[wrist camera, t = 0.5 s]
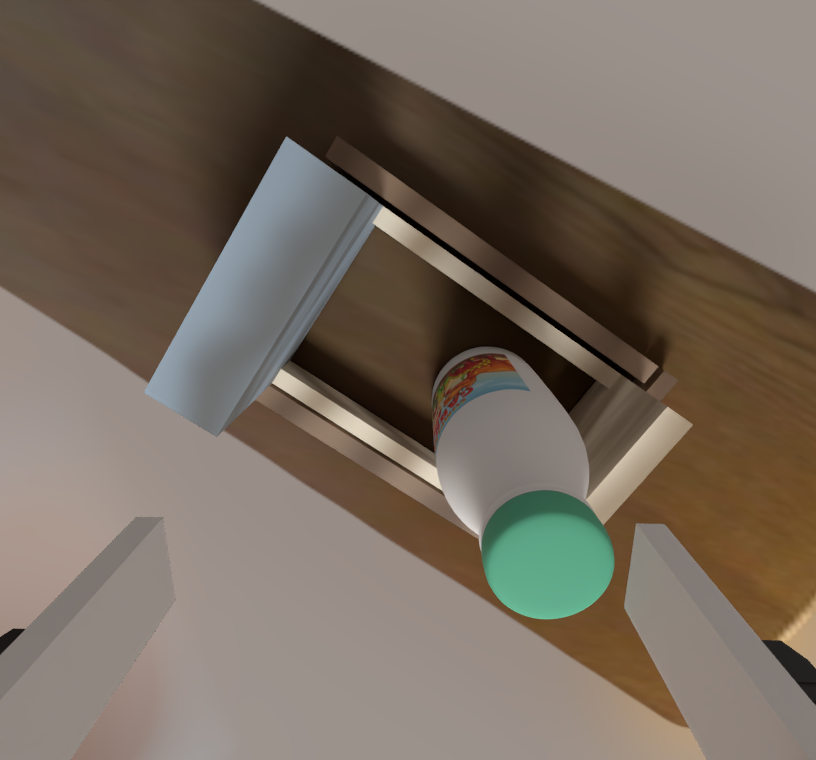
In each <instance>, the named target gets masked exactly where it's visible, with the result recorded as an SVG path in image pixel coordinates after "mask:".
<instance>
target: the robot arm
mask: <svg viewBox="0 0 816 760" xmlns="http://www.w3.org/2000/svg"><path fill="white" fill-rule="evenodd" d="M174 601H175V593H174V587H173V580H172V573H171V567H170V560H169V553H168V546H167V540H166V533H165V528H164V520H163V517H136V518H135V519H134V520H133V521H132V522H131V523H130V524H129V525H128V526H127V527H126V528H125V529H124V530H123V531H122V532H121V533H120V534H119V535H118V536H117V537H116V538H115V539H114V540H113V541H112V542H111V543H110V544H109V545H108V546H107V547H106V548H105V549H104V550H103V551H102V552H101V553H100V554H99V555H98V556H97V557H96V558H95V559H94V560H93V561H92V562H91V563H90V564H89V565H88V566H87V567H86V568H85V569H84V570H83V572H81V574H80V575H79V576H78V577H77V578H76V579H75V580H74V581H73V582H72V583H71V584H70V585H69V586H68V587H67V588H66V589H65V590H64V591H63V592H62V593H61V594H60V595H59V596H58V597H57V598H56V599H55V600H54V601H53V602H52V603H51V604H50V605H49V606H48V607H47V608H46V609H45V610H44V611H43V612H42V613H41V614H40V615H39V616H38V617H37V618H36V619H35V620H34V621H33V622H32V623H31V624H30V625H29V626H28V627H27V628H26V629H12V630H11V631H9V632H8V633H6V634H4V635H3V636H1V637H0V760H71V758H72V757H73V755H74V754H75V752H76V751H77V749H78V748H79V746H80V745H81V743H82V742H83V740H84V738H85V737H86V736H87V734H88V732H89V731H90V729H91V728H92V726H93V725H94V723H95V722H96V720H97V719H98V717H99V716H100V714H101V713H102V711H103V710H104V708H105V707H106V705H107V704H108V702H109V701H110V699H111V697H112V696H113V694H114V693H115V691H116V690H117V688H118V687H119V685H120V684H121V682H122V681H123V679H124V677H125V676H126V675H127V673H128V672H129V670H130V669H131V667H132V665H133V664H134V662H135V661H136V659H137V658H138V656H139V655H140V653H141V652H142V650H143V649H144V647H145V646H146V644H147V643H148V641H149V640H150V638H151V637H152V635H153V633H154V632H155V631H156V629H157V627H158V626H159V624H160V623H161V621H162V620H163V618H164V617H165V615H166V614H167V612H168V611H169V609H170V608H171V606H172V605H173V603H174ZM624 608H625V610H626V612H627V614H628V616H629V617H630V619H631V621H632V623H633V625H634V627H635V628H636V630H637V632H638V634H639V636H640V638H641V639H642V641H643V643H644V645H645V647H646V649H647V651H648V652H649V654H650V656H651V658H652V660H653V662H654V663H655V665H656V667H657V669H658V671H659V673H660V674H661V676H662V678H663V680H664V682H665V684H666V686H667V687H668V689H669V691H670V693H671V695H672V697H673V698H674V700H675V702H676V704H677V706H678V708H679V709H680V711H681V713H682V715H683V717H684V719H685V721H686V722H687V724H688V726H689V728H690V730H691V732H692V733H693V735H694V737H695V739H696V741H697V743H698V744H699V746H700V748H701V750H702V752H703V754H704V755H705V757H706V759H707V760H816V669H815V667H814V666H813V665H812V664H811V663H810V662H809V661H808V660H807V659H806V658H804V657H803V656H801V655H800V654H799V653H797V652H796V651H795V650H793V649H792V648H790V647H789V646H788V645H786V644H785V643H783V642H782V641H772V640H761V639H760V638H759V637H758V636H757V635H756V633H755V632H754V631H753V630H752V629H751V627H750V626H749V625H748V624H747V623H746V621H745V620H744V619H743V618H742V617H741V615H740V614H739V613H738V612H737V611H736V609H735V608H734V607H733V606H732V605H731V603H730V602H729V601H728V600H727V599H726V597H725V596H724V595H723V594H722V593H721V591H720V590H719V589H718V588H717V587H716V585H715V584H714V583H713V582H712V581H711V579H710V578H709V577H708V576H707V575H706V573H705V572H704V571H703V570H702V569H701V567H700V566H699V565H698V564H697V563H696V561H695V560H694V559H693V558H692V557H691V555H690V554H689V553H688V552H687V551H686V549H685V548H684V547H683V546H682V545H681V543H680V542H679V541H678V540H677V539H676V537H675V536H674V535H673V534H672V533H671V531H670V530H669V529H668V528H667V527H666V525H665V524H636V529H635V536H634V543H633V550H632V556H631V563H630V570H629V577H628V584H627V591H626V598H625V604H624Z"/></svg>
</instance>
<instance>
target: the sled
mask: <svg viewBox="0 0 816 760" xmlns="http://www.w3.org/2000/svg"><path fill="white" fill-rule="evenodd" d="M375 225H376V226H377V227H379V228H380V229H381V230H383V231H384V232H386V233H387V234H389V235H390V236H391V237H393V238H394V239H396V240H397V241H399V242H400V243H401V244H403V245H404V246H406V247H407V248H409V249H410V250H411V251H413V252H414V253H416V254H417V255H419V256H420V257H421V258H423V259H424V260H426V261H427V262H429V263H430V264H431V265H433V266H434V267H436V268H437V269H439V270H440V271H441V272H443V273H444V274H446V275H447V276H449V277H450V278H451V279H453V280H454V281H456V282H457V283H459V284H460V285H461V286H463V287H464V288H466V289H467V290H469V291H470V292H471V293H473V294H474V295H476V296H477V297H479V298H480V299H481V300H483V301H484V302H486V303H487V304H489V305H490V306H491V307H493V308H494V309H496V310H497V311H498V312H500V313H501V314H503V315H504V316H506V317H507V318H508V319H510V320H511V321H513V322H514V323H516V324H517V325H518V326H520V327H521V328H523V329H524V330H526V331H527V332H528V333H530V334H531V335H533V336H534V337H536V338H537V339H538V340H540V341H541V342H543V343H544V344H546V345H547V346H548V347H550V348H551V349H553V350H554V351H556V352H557V353H558V354H560V355H561V356H563V357H564V358H566V359H567V360H568V361H570V362H571V363H573V364H574V365H576V366H577V367H578V368H580V369H581V370H583V371H584V372H586V373H587V374H588V375H590V376H591V377H593V378H594V379H596V381H595V382H594V384H593V385H592V386H591V387H590V389H589V390H588V391H587V392H586V393H585V395H584V396H583V397H582V398H581V400H580V401H579V402H578V403H577V404H576V406H575V407H574V408H573V409H572V411H571V412H570V413H569V414H568V415H569V416H570V418H571V419H572V421H573V422H574V424H575V425H576V427H577V429H578V431H579V433H580V435H581V438H582V440H583V442H584V445H585V448H586V452H587V457H588V462H589V485H588V490H587V495H586V499H585V500H586V501H587V502H588V503H589V504H590V506H591V507H592V509H593V510H594V513H595V514H596V516H597V517H598V519H599V520H600V521H601V523H602V524H604V523H605V522H606V521H607V520H608V519H609V518H610V517H611V516H612V514H613V513H614V512H615V511H616V510H617V509H618V508H619V507H620V506H621V504H622V503H623V502H624V501H625V500H626V499H627V498H628V497H629V496H630V494H631V493H632V492H633V491H634V490H635V489H636V488H637V487H638V486H639V484H640V483H641V482H642V481H643V480H644V479H645V478H646V477H647V476H648V474H649V473H650V472H651V471H652V470H653V469H654V468H655V467H656V465H657V464H658V463H659V462H660V461H661V460H662V459H663V458H664V457H665V455H666V454H667V453H668V452H669V451H670V450H671V449H672V448H673V447H674V445H675V444H676V443H677V442H678V441H679V440H680V439H681V438H682V437H683V435H684V434H685V433H686V432H687V431H688V430H689V429H690V428H691V427H692V425H693V424H691V423H690V422H688V421H687V420H685V419H684V418H683V417H681V416H680V415H678V414H677V413H676V412H674V411H673V410H671V409H670V408H669V407H667V406H666V405H664V404H663V403H661V402H660V401H658V400H657V399H656V398H654V397H653V396H651V395H650V394H648V393H647V392H646V391H644V390H643V389H641V388H640V387H638V386H637V385H635V384H634V383H633V382H631V381H630V380H628V379H627V378H625V377H624V376H622V375H621V374H620V373H618V372H617V371H615V370H614V369H613V368H611V367H610V366H608V365H607V364H605V363H604V362H603V361H601V360H600V359H598V358H597V357H596V356H594V355H593V354H591V353H590V352H589V351H587V350H586V349H584V348H583V347H581V346H580V345H579V344H577V343H576V342H574V341H573V340H572V339H570V338H569V337H567V336H566V335H565V334H563V333H562V332H560V331H559V330H557V329H556V328H555V327H553V326H552V325H550V324H549V323H548V322H546V321H545V320H543V319H542V318H541V317H539V316H538V315H536V314H535V313H533V312H532V311H531V310H529V309H528V308H526V307H525V306H524V305H522V304H521V303H519V302H518V301H516V300H515V299H514V298H512V297H511V296H509V295H508V294H507V293H505V292H504V291H502V290H501V289H500V288H498V287H497V286H495V285H494V284H492V283H491V282H490V281H488V280H487V279H485V278H484V277H483V276H481V275H480V274H478V273H477V272H476V271H474V270H473V269H471V268H470V267H468V266H467V265H466V264H464V263H463V262H461V261H460V260H459V259H457V258H456V257H454V256H453V255H452V254H450V253H449V252H447V251H446V250H444V249H443V248H442V247H440V246H439V245H437V244H436V243H435V242H433V241H432V240H430V239H429V238H428V237H426V236H425V235H423V234H422V233H420V232H419V231H418V230H416V229H415V228H413V227H412V226H411V225H409V224H408V223H406V222H405V221H403V220H402V219H401V218H399V217H398V216H396V215H395V214H394V213H392V212H391V211H389V210H388V209H387V208H385V207H384V206H382V205H381V204H380V203H379V202H377V201H376V200H375V199H373V198H372V197H371V196H370V195H368V194H367V193H366V192H364V191H363V190H361V189H360V188H359V187H357V186H356V185H354V184H353V183H351V182H350V181H349V180H347V179H346V178H344V177H343V176H342V175H340V174H339V173H337V172H336V171H335V170H333V169H332V168H330V167H329V166H327V165H326V164H325V163H323V162H322V161H320V160H319V159H318V158H316V157H315V156H313V155H312V154H311V153H309V152H308V151H306V150H305V149H303V148H302V147H301V146H299V145H298V144H296V143H295V142H294V141H292V140H291V139H289V138H288V137H287V136H286V138H285V140H284V141H283V143H282V145H281V147H280V149H279V150H278V152H277V154H276V156H275V158H274V159H273V161H272V163H271V165H270V167H269V168H268V170H267V172H266V174H265V176H264V177H263V179H262V181H261V183H260V185H259V186H258V188H257V190H256V192H255V194H254V195H253V197H252V199H251V201H250V203H249V204H248V206H247V208H246V210H245V212H244V213H243V215H242V217H241V219H240V221H239V222H238V224H237V226H236V228H235V230H234V231H233V233H232V235H231V237H230V239H229V240H228V242H227V244H226V246H225V248H224V249H223V251H222V253H221V255H220V256H219V258H218V260H217V262H216V264H215V265H214V267H213V269H212V271H211V273H210V274H209V276H208V278H207V280H206V282H205V283H204V285H203V287H202V289H201V291H200V292H199V294H198V296H197V298H196V300H195V301H194V303H193V305H192V307H191V309H190V310H189V312H188V314H187V316H186V318H185V319H184V321H183V323H182V325H181V327H180V328H179V330H178V332H177V334H176V336H175V337H174V339H173V341H172V343H171V345H170V346H169V348H168V350H167V352H166V354H165V355H164V357H163V359H162V361H161V363H160V364H159V366H158V368H157V370H156V372H155V373H154V375H153V377H152V379H151V381H150V382H149V384H148V386H147V388H146V390H145V391H144V393H145V394H147V395H148V396H150V397H152V398H153V399H155V400H157V401H158V402H160V403H162V404H164V405H165V406H167V407H168V408H170V409H171V410H173V411H175V412H176V413H178V414H180V415H181V416H183V417H185V418H186V419H188V420H190V421H191V422H193V423H194V424H196V425H198V426H199V427H201V428H203V429H204V430H206V431H208V432H210V433H211V434H213V435H214V436H216V437H217V436H218V435H219V434H220V433H221V432H222V431H223V430H224V429H225V428H226V427H227V426H228V425H229V424H230V423H232V422H233V421H234V420H235V419H236V418H237V417H238V416H239V415H240V414H241V413H242V412H243V411H244V410H245V409H246V408H247V407H248V406H249V405H250V404H251V403H252V402H253V401H254V400H255V399H256V398H257V397H258V396H259V395H260V394H261V393H262V392H263V391H264V390H265V389H267V388H268V387H269V386H270V385H271V384H272V383H273V384H274V385H276V386H277V387H279V388H281V389H282V390H284V391H285V392H287V393H289V394H290V395H292V396H293V397H295V398H296V399H298V400H300V401H301V402H303V403H304V404H306V405H307V406H309V407H311V408H312V409H314V410H315V411H317V412H319V413H320V414H322V415H323V416H325V417H326V418H328V419H330V420H331V421H333V422H334V423H336V424H337V425H339V426H341V427H342V428H344V429H345V430H347V431H349V432H350V433H352V434H353V435H355V436H356V437H358V438H360V439H361V440H363V441H364V442H366V443H368V444H369V445H371V446H372V447H374V448H375V449H377V450H379V451H380V452H382V453H383V454H385V455H386V456H388V457H390V458H391V459H393V460H394V461H396V462H398V463H399V464H401V465H402V466H404V467H405V468H407V469H409V470H410V471H412V472H413V473H415V474H416V475H418V476H420V477H421V478H423V479H424V480H426V481H428V482H429V483H431V484H432V485H434V486H435V487H437V488H439V489H440V490H442V487H441V484H440V481H439V478H438V472H437V466H436V459H435V453H433V452H432V451H430V450H429V449H427V448H425V447H424V446H422V445H421V444H419V443H418V442H416V441H415V440H413V439H411V438H410V437H408V436H407V435H405V434H404V433H402V432H401V431H399V430H397V429H396V428H394V427H393V426H391V425H390V424H388V423H387V422H385V421H383V420H382V419H380V418H379V417H377V416H376V415H374V414H373V413H371V412H369V411H368V410H366V409H365V408H363V407H362V406H360V405H359V404H357V403H355V402H354V401H352V400H351V399H349V398H348V397H346V396H345V395H343V394H341V393H340V392H338V391H337V390H335V389H334V388H332V387H331V386H329V385H327V384H326V383H324V382H323V381H321V380H320V379H318V378H317V377H315V376H313V375H312V374H310V373H309V372H307V371H306V370H304V369H303V368H301V367H299V366H298V365H296V364H295V363H293V362H292V361H290V360H291V358H292V357H293V355H294V353H295V352H296V350H297V349H298V347H299V345H300V344H301V342H302V341H303V339H304V338H305V336H306V334H307V333H308V331H309V330H310V328H311V326H312V325H313V323H314V322H315V320H316V318H317V317H318V315H319V314H320V312H321V311H322V309H323V307H324V306H325V304H326V303H327V301H328V299H329V298H330V296H331V295H332V293H333V292H334V290H335V288H336V287H337V285H338V284H339V282H340V280H341V279H342V277H343V276H344V274H345V272H346V271H347V269H348V268H349V266H350V265H351V263H352V261H353V260H354V258H355V257H356V255H357V253H358V252H359V250H360V249H361V247H362V246H363V244H364V242H365V241H366V239H367V238H368V236H369V234H370V233H371V231H372V230H373V228H374V227H375ZM442 491H443V490H442Z"/></svg>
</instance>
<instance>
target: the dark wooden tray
mask: <svg viewBox="0 0 816 760" xmlns="http://www.w3.org/2000/svg"><path fill="white" fill-rule="evenodd" d="M325 157H326V158H327V159H329V160H330V161H331V162H332V163H334V164H335V165H337V166H338V167H339V168H341V169H342V170H344V171H345V172H346V173H348V174H349V175H351V176H352V177H353V178H355V179H356V180H358V181H359V182H360V183H362V184H363V185H365V186H366V187H368V188H369V189H370V190H372V191H373V192H375V193H376V194H377V195H379V196H380V197H382V198H383V199H384V200H386V201H387V202H389V203H390V204H391V205H393V206H394V207H396V208H397V209H398V210H400V211H401V212H403V213H404V214H406V215H407V216H408V217H410V218H411V219H413V220H414V221H415V222H417V223H418V224H420V225H421V226H422V227H424V228H425V229H427V230H428V231H429V232H431V233H432V234H434V235H435V236H437V237H438V238H439V239H441V240H442V241H444V242H445V243H446V244H448V245H449V246H451V247H452V248H453V249H455V250H456V251H458V252H459V253H460V254H462V255H463V256H465V257H466V258H467V259H469V260H470V261H472V262H473V263H475V264H476V265H477V266H479V267H480V268H482V269H483V270H484V271H486V272H487V273H489V274H490V275H491V276H493V277H494V278H496V279H497V280H498V281H500V282H501V283H503V284H504V285H505V286H507V287H508V288H510V289H511V290H513V291H514V292H515V293H517V294H518V295H520V296H521V297H522V298H524V299H525V300H527V301H528V302H529V303H531V304H532V305H534V306H535V307H536V308H538V309H539V310H541V311H542V312H544V313H545V314H546V315H548V316H549V317H551V318H552V319H553V320H555V321H556V322H558V323H559V324H560V325H562V326H563V327H565V328H566V329H567V330H569V331H570V332H572V333H573V334H574V335H576V336H577V337H579V338H580V339H582V340H583V341H584V342H586V343H587V344H589V345H590V346H591V347H593V348H594V349H596V350H597V351H598V352H600V353H601V354H603V355H604V356H605V357H607V358H608V359H610V360H611V361H612V362H614V363H615V364H617V365H618V366H620V367H621V368H622V369H624V370H625V371H627V372H628V373H629V374H631V375H632V376H634V377H635V379H634V380H633V383H634V384H635V385H637V386H638V387H640V388H641V389H643V390H644V391H646V392H647V393H648V394H650V395H651V396H653V397H654V398H656V399H657V400H658V401H661V400H662V399H663V398H664V396H665V395H666V394H667V393H668V392H669V391H670V390H671V388H672V387H673V386H674V385H675V384H676V383H677V381H678V380H677V379H675V378H674V377H672V376H671V375H670V374H668V373H667V372H665V371H664V370H662V369H660V368H659V366H657V365H656V364H654V363H653V362H652V361H650V360H649V359H647V358H646V357H645V356H643V355H642V354H640V353H639V352H638V351H636V350H635V349H633V348H632V347H631V346H629V345H628V344H627V343H625V342H624V341H622V340H621V339H620V338H618V337H617V336H615V335H614V334H613V333H611V332H610V331H608V330H607V329H606V328H604V327H603V326H602V325H600V324H599V323H597V322H596V321H595V320H593V319H592V318H590V317H589V316H588V315H586V314H585V313H583V312H582V311H581V310H579V309H578V308H577V307H575V306H574V305H572V304H571V303H570V302H568V301H567V300H565V299H564V298H563V297H561V296H560V295H558V294H557V293H556V292H554V291H553V290H551V289H550V288H549V287H547V286H546V285H545V284H543V283H542V282H540V281H539V280H538V279H536V278H535V277H533V276H532V275H531V274H529V273H528V272H526V271H525V270H524V269H522V268H521V267H520V266H518V265H517V264H515V263H514V262H513V261H511V260H510V259H508V258H507V257H506V256H504V255H503V254H501V253H500V252H499V251H497V250H496V249H494V248H493V247H492V246H490V245H489V244H488V243H486V242H485V241H483V240H482V239H481V238H479V237H478V236H476V235H475V234H474V233H472V232H471V231H469V230H468V229H467V228H465V227H464V226H463V225H461V224H460V223H458V222H457V221H456V220H454V219H453V218H451V217H450V216H449V215H447V214H446V213H444V212H443V211H442V210H440V209H439V208H437V207H436V206H435V205H433V204H432V203H431V202H429V201H428V200H426V199H425V198H424V197H422V196H421V195H419V194H418V193H417V192H415V191H414V190H412V189H411V188H410V187H408V186H407V185H406V184H404V183H403V182H401V181H400V180H399V179H397V178H396V177H394V176H393V175H392V174H390V173H389V172H387V171H386V170H385V169H383V168H382V167H381V166H379V165H378V164H376V163H375V162H374V161H372V160H371V159H369V158H368V157H367V156H365V155H364V154H362V153H361V152H360V151H358V150H357V149H355V148H354V147H353V146H351V145H350V144H349V143H347V142H346V141H344V140H343V139H342V138H340V137H339V136H336V138H335V140H334V142H333V143H332V145H331V147H330V148H329V150H328V152H327V154H326V155H325ZM255 400H257V401H258V402H260V403H262V404H263V405H265V406H266V407H268V408H270V409H271V410H273V411H274V412H276V413H278V414H279V415H281V416H282V417H284V418H286V419H287V420H289V421H290V422H292V423H294V424H295V425H297V426H298V427H300V428H302V429H303V430H305V431H306V432H308V433H310V434H311V435H313V436H314V437H316V438H318V439H319V440H321V441H322V442H324V443H326V444H327V445H329V446H330V447H332V448H334V449H335V450H337V451H338V452H340V453H342V454H343V455H345V456H346V457H348V458H350V459H351V460H353V461H354V462H356V463H358V464H359V465H361V466H362V467H364V468H366V469H367V470H369V471H370V472H372V473H374V474H375V475H377V476H378V477H380V478H382V479H383V480H385V481H386V482H388V483H390V484H391V485H393V486H394V487H396V488H398V489H399V490H401V491H402V492H404V493H406V494H407V495H409V496H410V497H412V498H414V499H415V500H417V501H418V502H420V503H422V504H423V505H425V506H426V507H428V508H430V509H431V510H433V511H434V512H436V513H438V514H439V515H441V516H442V517H444V518H446V519H447V520H449V521H450V522H452V523H454V524H455V525H457V526H458V527H460V528H462V529H463V530H465V531H466V532H468V533H470V534H471V535H473V536H474V537H476V538H478V539H479V535H478V534H476V533H475V532H474V531H472V530H471V529H470V528H469V527H467V526H466V525H465V524H464V523H463V522H462V521H461V520H460V518H459V517H458V516H457V515H456V514H455V512H454V511H453V509H452V508H451V506H450V505H449V503H448V501H447V499H446V497H445V495H444V493H443V491H442V490H440V489H439V488H437V487H435V486H434V485H432V484H431V483H429V482H428V481H426V480H424V479H423V478H421V477H420V476H418V475H416V474H415V473H413V472H412V471H410V470H409V469H407V468H405V467H404V466H402V465H401V464H399V463H398V462H396V461H394V460H393V459H391V458H390V457H388V456H386V455H385V454H383V453H382V452H380V451H379V450H377V449H375V448H374V447H372V446H371V445H369V444H368V443H366V442H364V441H363V440H361V439H360V438H358V437H356V436H355V435H353V434H352V433H350V432H349V431H347V430H345V429H344V428H342V427H341V426H339V425H337V424H336V423H334V422H333V421H331V420H330V419H328V418H326V417H325V416H323V415H322V414H320V413H319V412H317V411H315V410H314V409H312V408H311V407H309V406H307V405H306V404H304V403H303V402H301V401H300V400H298V399H296V398H295V397H293V396H292V395H290V394H289V393H287V392H285V391H284V390H282V389H281V388H279V387H277V386H276V385H274V384H273V383H272V384H271V385H270V386H269V387H268V388H267V389H265V390H264V391H263V392H262V393H261V394H260V395H259V396H258V397H257V398H256V399H255Z"/></svg>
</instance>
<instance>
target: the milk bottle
mask: <svg viewBox="0 0 816 760" xmlns="http://www.w3.org/2000/svg"><path fill="white" fill-rule="evenodd" d="M432 420H433V437H434V450H435V459H436V466H437V472H438V478H439V481H440V484H441V487H442V490H443V493H444V495H445V497H446V499H447V501H448V503H449V505H450V506H451V508H452V509H453V511H454V512H455V514H456V515H457V516H458V517H459V518H460V520H461V521H462V522H463V523H464V524H465V525H466V526H467V527H469V528H470V529H471V530H472V531H474V532H475V533H476V534H478V535H479V544H480V549H481V553H482V561H483V566H484V570H485V574H486V578H487V580H488V583H489V585H490V587H491V588H492V590H493V591H494V593H495V594H496V596H497V597H498V598H499V599H500V601H502V602H503V603H504V604H505V605H506V606H507V607H509V608H510V609H512V610H513V611H515V612H517V613H520V614H522V615H525V616H528V617H532V618H538V619H556V618H562V617H567V616H570V615H573V614H575V613H578V612H580V611H582V610H584V609H585V608H587V607H589V606H590V605H591V604H593V603H594V602H595V601H596V600H597V599H598V598H599V597H600V596H601V595H602V594H603V592H604V591H605V590H606V588H607V586H608V584H609V583H610V580H611V578H612V574H613V570H614V552H613V546H612V543H611V540H610V538H609V535H608V534H607V532H606V530H605V528H604V526H603V524H602V523H601V521H600V520H599V519H598V517H597V516H596V514H595V513H594V510H593V509H592V507H591V506H590V504H589V503H588V502H587V501H586V500H585V499H586V495H587V490H588V485H589V462H588V457H587V452H586V448H585V445H584V442H583V440H582V438H581V435H580V433H579V431H578V429H577V427H576V425H575V424H574V422H573V421H572V419H571V418H570V416H569V415H568V413H567V412H566V410H565V409H564V408H563V406H562V405H561V404H560V403H559V401H558V400H557V399H556V397H555V396H554V395H553V394H552V392H551V391H550V390H549V389H548V387H547V386H546V385H545V384H544V383H543V381H542V380H541V379H540V378H539V376H538V375H537V374H536V373H535V372H534V370H533V369H532V368H531V367H530V366H529V365H528V364H527V363H526V362H525V361H524V360H523V359H522V358H520V357H519V356H518V355H516V354H514V353H513V352H510V351H508V350H505V349H502V348H498V347H477V348H473V349H469V350H467V351H464V352H462V353H460V354H458V355H457V356H455V357H454V358H452V359H451V360H450V361H449V362H448V363H447V364H446V365H445V366H444V367H443V369H442V370H441V371H440V373H439V375H438V377H437V379H436V381H435V384H434V387H433V392H432Z"/></svg>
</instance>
